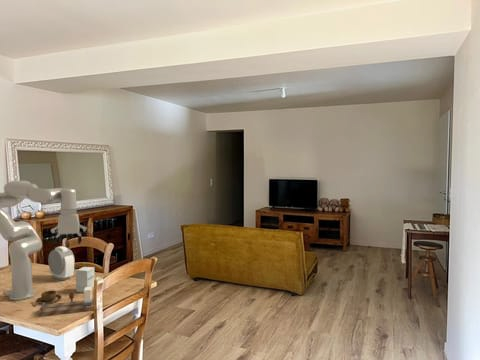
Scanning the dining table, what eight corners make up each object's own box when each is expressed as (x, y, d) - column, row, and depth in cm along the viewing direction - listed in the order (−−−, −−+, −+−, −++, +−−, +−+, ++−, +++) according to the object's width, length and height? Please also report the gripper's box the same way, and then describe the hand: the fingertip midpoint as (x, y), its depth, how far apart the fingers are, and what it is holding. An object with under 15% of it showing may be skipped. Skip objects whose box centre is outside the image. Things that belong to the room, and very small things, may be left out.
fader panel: (39, 316, 166) (39, 309, 166) (44, 308, 176) (43, 301, 175) (97, 309, 174) (97, 302, 174) (99, 302, 184) (99, 295, 183)
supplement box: (87, 292, 197) (86, 270, 197) (75, 291, 199) (75, 270, 198) (95, 288, 205) (94, 267, 204) (84, 287, 206) (83, 266, 206)
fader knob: (82, 305, 173) (82, 291, 173) (84, 300, 180) (84, 286, 180) (91, 304, 175) (91, 290, 174) (92, 299, 181) (92, 285, 181)
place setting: (62, 294, 197) (62, 284, 196) (76, 304, 183) (76, 293, 183) (27, 303, 184) (27, 292, 184) (39, 314, 170) (39, 302, 170)
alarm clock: (76, 278, 222) (75, 247, 221) (63, 282, 215) (63, 250, 214) (59, 274, 231) (59, 244, 231) (47, 277, 224) (46, 246, 223)
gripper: (48, 213, 178) (49, 246, 179) (85, 212, 184) (86, 244, 184) (51, 211, 186) (52, 243, 186) (87, 210, 191) (87, 241, 192)
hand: (69, 244), depth 185 cm, fingers open, 9 cm apart
